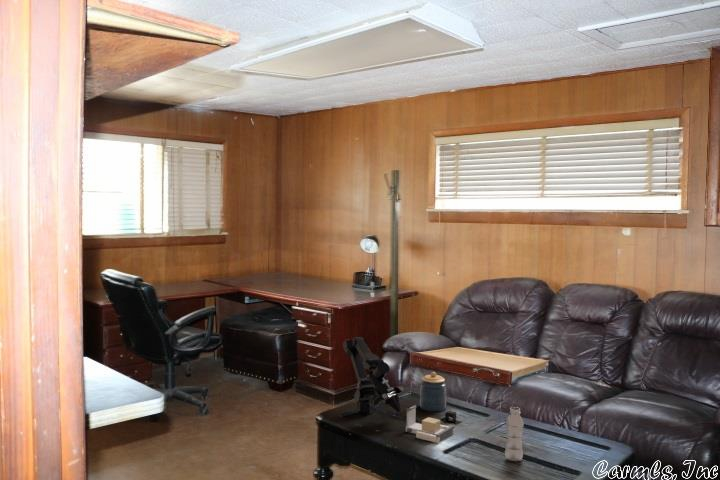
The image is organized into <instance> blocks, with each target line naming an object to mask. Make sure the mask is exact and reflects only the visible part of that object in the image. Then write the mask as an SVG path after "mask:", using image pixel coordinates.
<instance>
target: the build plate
mask: <svg viewBox="0 0 720 480" xmlns="http://www.w3.org/2000/svg"><path fill="white" fill-rule="evenodd" d="M439 420H441V422H445V423H449V424H452V425H456V426H457V425H459V424H462V423H463V421H462V420H458V419H457V412H455V411H451V410H448V411H447V410H446V412H445V415H444V417H442V418H440V419H439Z"/></svg>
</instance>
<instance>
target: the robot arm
mask: <svg viewBox="0 0 720 480" xmlns="http://www.w3.org/2000/svg"><path fill="white" fill-rule="evenodd" d="M342 348H343V350H344V352H345V354H346V355H347V356H348V357H349V358H350V359H351V363H352V366H353V367H352V368H353V369H354V373H355V377H356V380H357V386H356V391H355V393H354V394H353V395H354V396H353V397H354V400H355V401H356V402H357V405H356V406H357V410H356V411H355V414H359V415H363V416H369V415H371V414H373V413H374V411H375V410H373V405H374V406H375V407H379V406H380V405H381V404H382V405H388V406H389V407H391V408H392V409H393V410H394V411H396V412H397V413H400V412H401V411H402V410H401V405H400V398H399V397H400V396H399V395H400V394H401V393H403V391H405V388H404V387H403V386H402V385H397V386H396V387H391V386H390V384H389V382H390V381H389V380H388V379H385V377H386V375H388V373H389V371H390V365H389V364H388V363H387V362H385V361H384V359H380V357H379V356H378V355H377V354H374V353H373V352H372V351H371V349H370V348H369V347H368V344H366V342H365V339H364V338H363V337H362V336H360V337H359V336H358V337H353V338H351V339H345V340H344V341H343V343H342ZM366 371H370V372H366Z"/></svg>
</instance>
